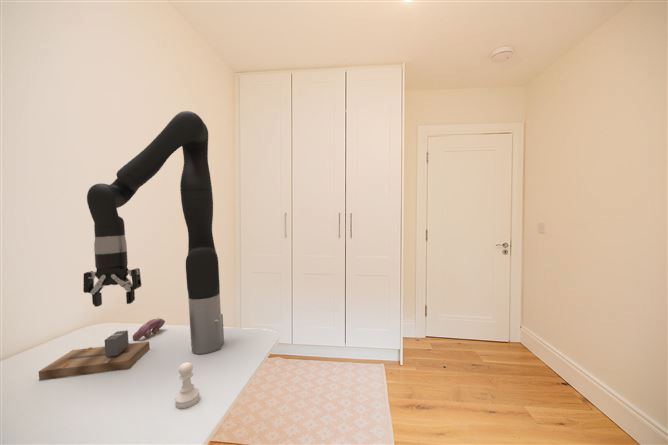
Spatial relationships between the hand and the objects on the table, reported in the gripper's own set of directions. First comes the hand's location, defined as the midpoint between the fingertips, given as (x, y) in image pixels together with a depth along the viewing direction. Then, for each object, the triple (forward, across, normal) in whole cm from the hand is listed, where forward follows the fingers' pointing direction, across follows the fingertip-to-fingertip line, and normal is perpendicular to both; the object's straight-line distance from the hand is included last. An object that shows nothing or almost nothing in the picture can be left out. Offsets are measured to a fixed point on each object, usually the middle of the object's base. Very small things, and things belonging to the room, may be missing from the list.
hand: (114, 304), depth 82 cm
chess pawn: (+17, -28, +25) cm, 41 cm away
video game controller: (+18, -1, -18) cm, 25 cm away
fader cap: (+14, 0, 0) cm, 14 cm away
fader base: (+17, +5, 0) cm, 18 cm away
